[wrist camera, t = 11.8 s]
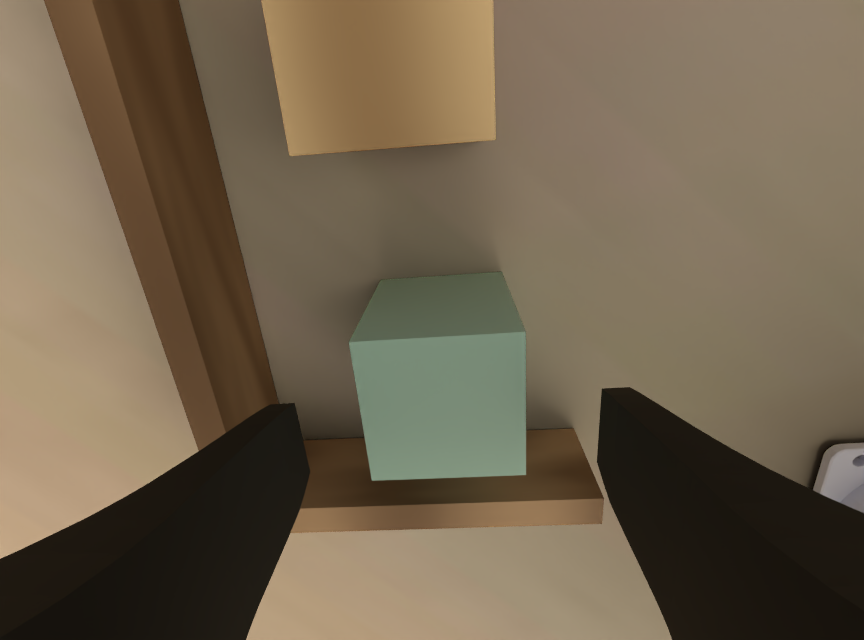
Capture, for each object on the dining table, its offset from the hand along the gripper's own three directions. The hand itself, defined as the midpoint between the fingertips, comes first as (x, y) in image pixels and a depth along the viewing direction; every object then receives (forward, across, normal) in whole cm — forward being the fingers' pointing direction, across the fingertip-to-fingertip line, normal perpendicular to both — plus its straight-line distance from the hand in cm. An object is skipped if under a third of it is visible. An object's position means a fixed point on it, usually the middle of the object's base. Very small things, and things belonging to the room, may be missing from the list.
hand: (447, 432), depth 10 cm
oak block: (+5, +1, -8) cm, 10 cm away
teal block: (+5, 0, 0) cm, 5 cm away
